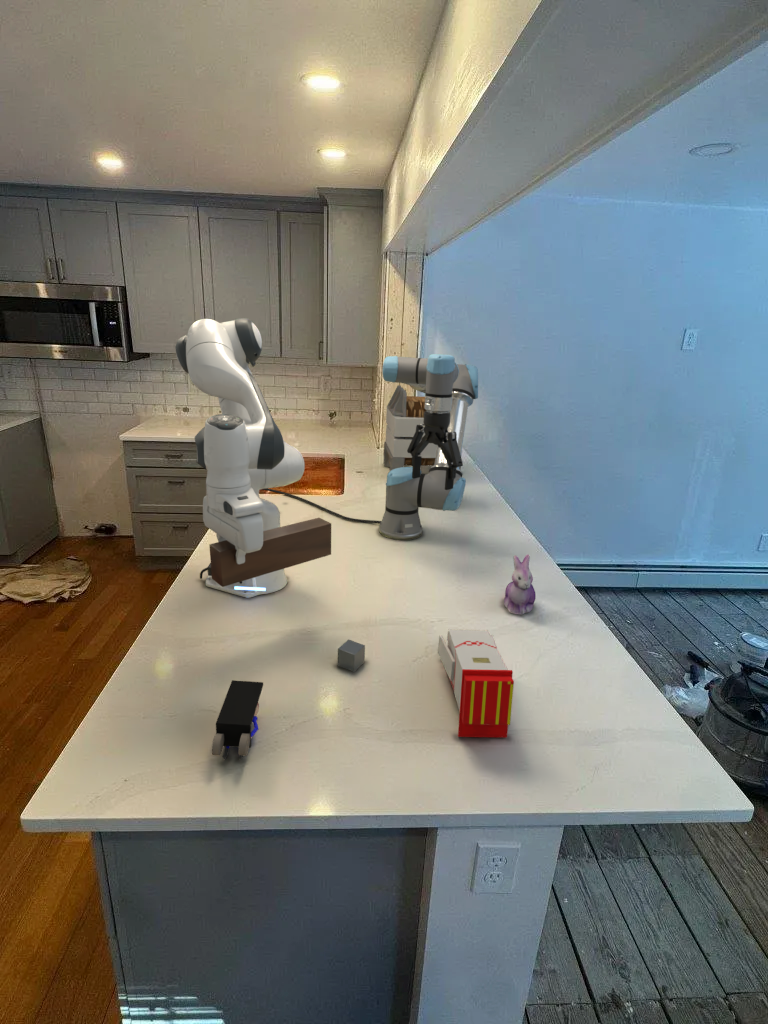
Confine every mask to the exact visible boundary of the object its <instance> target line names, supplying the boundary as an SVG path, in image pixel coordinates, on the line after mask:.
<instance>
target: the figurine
mask: <svg viewBox="0 0 768 1024" xmlns="http://www.w3.org/2000/svg"><path fill="white" fill-rule="evenodd" d="M530 560H531V556H530V554H529V553H528V554H526V555H525V556H524V557H523V560H522V561H521V560H520V558H519V557H518V555H513V572H512V574H511V581H510V582H509V583H508V584H507V585H506V587H505V591H504V599H503V604H504V607H505V608H506V609H507V610H508V612H509V613H511V614H514V615H524V614H527V613H531V611H532V610H533V608H534V606H535V605H534V604H535V602H536V597H537V596H536V590H535V588H534V585H533V581H534V577H533V574H532V572H531V569H530V562H531V561H530Z"/></svg>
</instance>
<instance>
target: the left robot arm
mask: <svg viewBox="0 0 768 1024" xmlns="http://www.w3.org/2000/svg"><path fill="white" fill-rule="evenodd" d="M262 339H263V338H262V335H261V332H260V329H258V327H257V326H256V324H255V323H254V321H253V320H251V319H250V318H248V317H239V318H235V319H233V320H228V321H223V322H219V321H217V320H214V319H211V318H202V319H198V320H196V321H194V322H193V323H192V324H191V325H190V326H189V328H188V331H187V334H185V335H183V336H181V337H180V338H178V339H177V342H176V344H175V354H176V355H175V356H176V360H177V361H178V364H179V365H180V366H181V369H183V371H184V372H185V373H187V374H188V376H189V379H190V381H191V383H192V384H193V386H195V388H197V389H198V390H199V391H201V392H202V393H204V394H205V395H209V396H211V397H213V398H217V399H218V403H219V408H220V412H221V413H219V414H215V415H214V414H213V415H211V416H209V417H208V418H206V420H205V422H204V426H203V428H201V429H200V430H199V431H198V432H197V433H196V435H195V436H194V442H195V446H196V447H195V448H196V460H195V461H196V464H198V465H199V466H200V467H201V468H202V469H204V470H205V471H206V478H205V496H203V498H202V521H203V524H204V526H205V527H206V528H208V529H209V530H211V531H212V532H214V533H215V534H216V540H217V542H221V541H225V540H227V541H229V542H230V543H232V544H233V545H235V549H236V550H237V552H236V554H235V555H234V561H235V562H236V563H237V564H242V563H244V562H245V554H246V553H250V552H254V551H258V550H260V549H261V548H262V546H263V531H266V530H270V529H274V528H278V527H281V512H280V509H279V507H278V506H277V505H276V503H273V502H271V501H269V500H267V499H265V498H261V497H260V491H262V490H261V489H266V488H268V489H273V488H279V487H285V486H289V485H291V484H293V483H296V482H299V481H300V480H301V479H302V477H303V475H304V473H305V469H306V468H305V467H306V463H305V459H304V457H303V454H302V452H301V451H300V450H299V449H298V448H297V447H295V446H293V445H291V444H289V443H288V442H286V441H285V440H284V437H283V435H282V431H281V430H280V427H279V426H278V425H277V423H276V422H275V420H274V418H273V415H272V414H271V412H270V408H269V407H268V404H267V402H266V400H265V398H264V397H265V396H264V395H263V392H262V390H261V388H260V386H259V384H258V382H257V380H256V378H255V377H254V375H253V373H252V371H251V370H250V367H249V364H250V365H251V367H252V368H254V367H256V362H257V360H258V359H259V358H260V356H261V354H262V350H263V340H262ZM205 572H207V577H206V579H205V586H206V587H208V588H212V589H215V590H218V591H221V592H224V593H225V592H226V593H228V594H232V595H235V596H239V597H242V598H246V599H250V598H253V597H256V596H259V595H267V594H271V593H275V592H277V591H279V590H282V589H284V588H285V587H286V585H287V583H288V578H287V575H286V572H285V568H284V569H281V570H278V571H274V572H271V573H268V574H264V575H261V576H258V577H254V578H251V579H248V580H244V581H241V582H238V583H234V584H231V585H228V586H224V587H222V586H221V585H219V584H218V583H217V582H216V581H214V580H213V579H212V573H211V562H209V564H208V566H207V567H205V568H203V569H201V571H200V573H199V580H202V579H203V574H204V573H205Z"/></svg>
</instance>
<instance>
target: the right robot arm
mask: <svg viewBox="0 0 768 1024" xmlns="http://www.w3.org/2000/svg"><path fill="white" fill-rule="evenodd" d="M382 378H383V380H384V381H385V382H388V383H393V384H395V383H398V384H403V385H408V386H409V387H410V388H411V389H413V390H414V391H416V392H420V393H422V394H424V397H425V407H424V409H425V410H426V411H425V412H424V420H423V423H424V424H419V425H417V426H416V432H415V434H414V436H413V439H412V441H411V443H410V445H409V447H408V450H407V452H408V453H410V454H411V456H412V466H404V467H401V468H396V469H393V470H391V471H390V470H389V472H388V473H387V475H386V482H385V504H384V505H385V507H384V508H385V509H384V513H383V515H382V519H381V520H371V519H360V518H353V517H349V516H346V515H343V514H340V513H337V512H335V511H332V510H331V509H328V508H326V507H324V506H322V505H319V504H317V503H315V502H312V501H310V500H308V499H305V498H303V497H300V496H297V495H294V494H292V493H288V492H286V491H281V490H277V489H273V488H266V489H261V490H260V491H267V492H272V493H275V494H279V495H283V496H286V497H291V498H293V499H296V500H299V501H301V502H304V503H306V504H309V505H310V506H313V507H316V508H317V509H320V510H322V511H324V512H327V513H329V514H331V515H333V516H336V517H338V518H341V519H343V520H346V521H351V522H357V523H366V524H379V525H378V533H379V534H380V535H381V536H382V537H385V538H387V539H389V540H395V541H410V540H415V539H418V538H420V537H421V536H422V535H423V525H422V524H421V518H420V515H419V508H422V509H430V510H431V509H432V510H440V511H443V512H445V511H447V512H455V511H457V510H458V509H459V508H460V506H461V504H462V502H463V497H464V494H465V489H466V485H467V484H466V483H467V480H466V478H465V477H463V472H462V469H461V470H460V469H459V467H461V468H462V467H463V466H464V463H463V459H461V458H462V453H461V451H462V452H463V445H464V437H465V430H466V424H467V416H468V409H469V407H470V406H472V405H473V404H474V400H476V399H479V368H478V367H477V366H476V365H473V364H467V363H464V364H462V363H461V364H460V363H457V362H456V359H455V356H454V355H451V354H445V353H434V354H433V353H432V354H430V355H428V357H427V358H425V357H410V356H408V357H407V356H398V355H394V356H393V355H389V356H388V355H387V356H386V357H385V358H384V360H383V364H382ZM424 433H425V435H424V437H423V438H422V436H423V434H424ZM421 438H422V439H421ZM420 441H421V442H420ZM429 443H433V444H435V445H437V451H436V457H435V464H434V465H433V466H432V465H431V466H430V467H429V468H428V473H422V466H421V457H422V456H418V455H421V452H422V451H423V450H424V449H425V447H426V446H427V445H428V444H429Z"/></svg>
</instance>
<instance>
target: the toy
mask: <svg viewBox="0 0 768 1024" xmlns="http://www.w3.org/2000/svg"><path fill="white" fill-rule="evenodd" d="M446 640H447V643H446V641H445V639H444V636H443V635H442V634H439V637H438V646H437V656H438V657H439V659H440V661H441V663H442V666H443V668H444V670H445V672H446V674H447V677H448V679H449V681H450V684H451V687H452V690H453V693H454V697H455V701H456V705H457V708H458V711H459V714H458V715H459V716H458V730H457V731H458V732H457V737H458V738H508V731H509V726H510V725H511V717H512V707H513V697H514V696H513V695H514V684H515V680H514V679H513V673H514V671H513V670H512V669H508V667H507V665H506V662H505V661H504V659H503V658H502V655H501V653H500V651H499V649H498V647H497V643H496V639H495V637H494V635H493V634H491V632H490V631H489V629H467V628H466V629H465V628H463V629H461V628H460V629H459V628H448V630H447V639H446Z"/></svg>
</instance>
